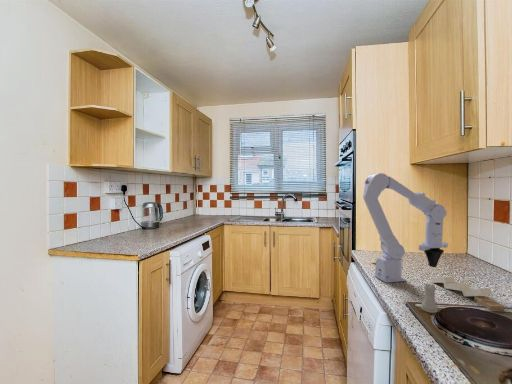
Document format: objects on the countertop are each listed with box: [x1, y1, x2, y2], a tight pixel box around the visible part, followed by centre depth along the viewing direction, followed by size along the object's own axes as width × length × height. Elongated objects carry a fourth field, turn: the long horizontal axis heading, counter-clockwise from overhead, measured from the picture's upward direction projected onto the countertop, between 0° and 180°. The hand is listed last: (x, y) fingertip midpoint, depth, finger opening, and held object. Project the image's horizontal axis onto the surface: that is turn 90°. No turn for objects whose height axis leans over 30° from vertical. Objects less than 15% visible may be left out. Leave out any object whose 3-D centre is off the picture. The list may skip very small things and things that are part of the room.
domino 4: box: [473, 295, 505, 312], centre depth 88 cm, size 2×4×7 cm
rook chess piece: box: [420, 283, 439, 314], centre depth 84 cm, size 4×4×8 cm
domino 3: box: [461, 287, 493, 297], centre depth 92 cm, size 2×4×7 cm
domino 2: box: [443, 281, 472, 292], centre depth 99 cm, size 2×4×7 cm
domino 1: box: [430, 276, 456, 284], centre depth 104 cm, size 2×4×7 cm
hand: (432, 266), depth 109 cm, fingers closed
